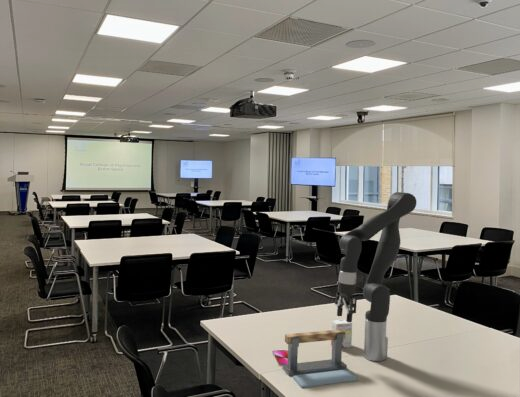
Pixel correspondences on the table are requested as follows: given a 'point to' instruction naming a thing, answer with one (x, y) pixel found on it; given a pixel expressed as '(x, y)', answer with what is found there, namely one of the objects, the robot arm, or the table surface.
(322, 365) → the rack
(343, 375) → the mat
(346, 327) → the ink box
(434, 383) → the table surface
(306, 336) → the rail
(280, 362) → the smartphone
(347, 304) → the robot arm
